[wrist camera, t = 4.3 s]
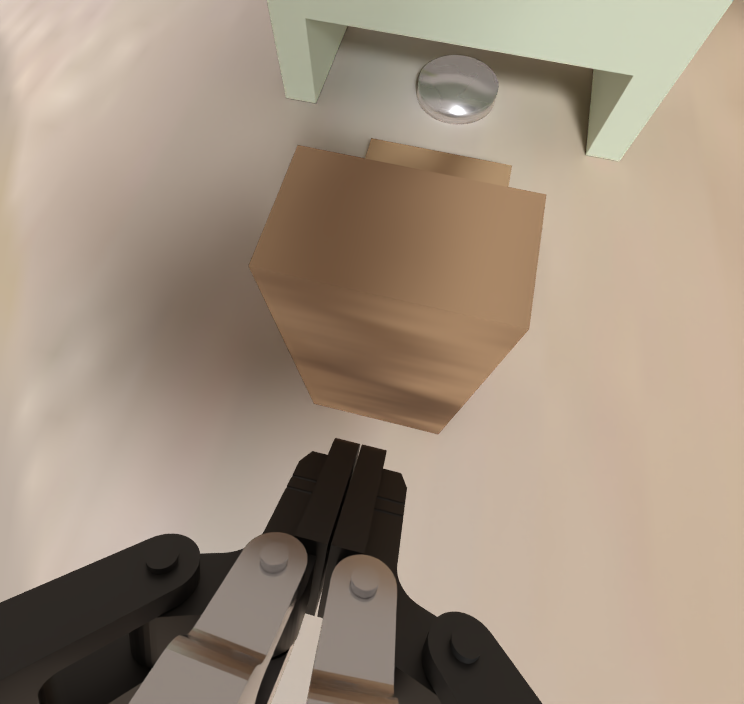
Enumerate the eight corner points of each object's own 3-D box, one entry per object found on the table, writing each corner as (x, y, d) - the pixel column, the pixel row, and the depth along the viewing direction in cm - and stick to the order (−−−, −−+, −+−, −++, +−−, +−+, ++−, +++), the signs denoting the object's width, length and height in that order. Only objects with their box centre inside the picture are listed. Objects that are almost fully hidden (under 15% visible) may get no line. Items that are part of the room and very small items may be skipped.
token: (498, 80, 29) (503, 62, 28) (487, 135, 27) (492, 118, 26) (424, 66, 29) (427, 49, 28) (409, 119, 27) (411, 103, 26)
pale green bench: (624, 71, 29) (730, -114, 20) (619, 161, 26) (740, -10, 17) (321, 18, 30) (303, -174, 22) (286, 97, 27) (249, -87, 19)
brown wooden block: (503, 185, 25) (613, -82, 14) (459, 439, 20) (578, 340, 9) (371, 158, 26) (374, -117, 15) (293, 398, 20) (204, 256, 9)
